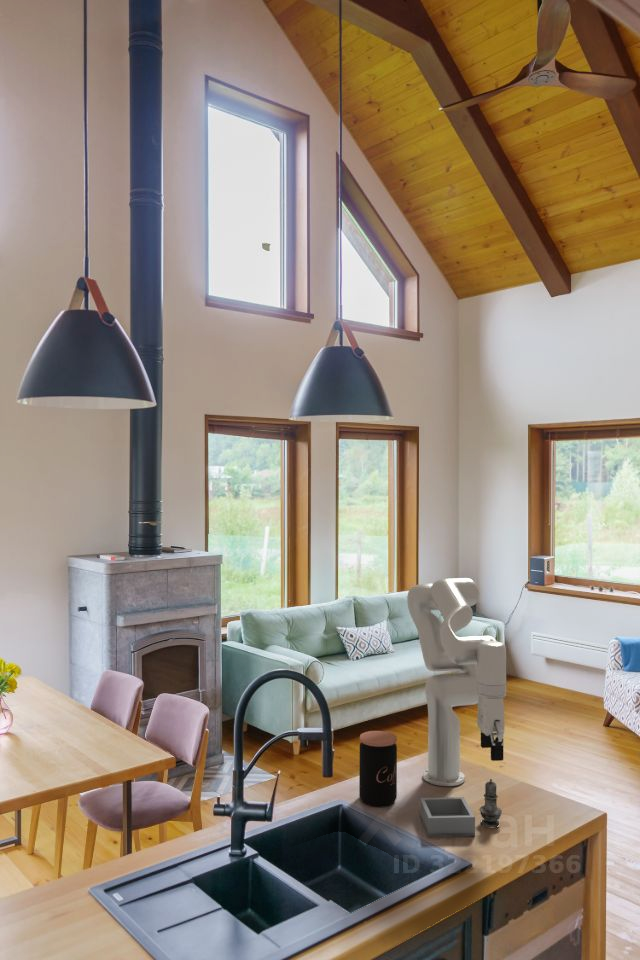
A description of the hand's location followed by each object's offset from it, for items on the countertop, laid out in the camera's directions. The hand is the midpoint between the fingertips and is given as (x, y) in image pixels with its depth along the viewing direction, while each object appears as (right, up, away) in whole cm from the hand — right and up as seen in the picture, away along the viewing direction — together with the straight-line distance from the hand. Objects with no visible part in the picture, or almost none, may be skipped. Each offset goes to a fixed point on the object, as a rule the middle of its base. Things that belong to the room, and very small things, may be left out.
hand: (491, 753), depth 203 cm
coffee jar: (-29, -19, +15) cm, 38 cm away
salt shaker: (0, -19, +1) cm, 19 cm away
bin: (-12, -19, -1) cm, 22 cm away
